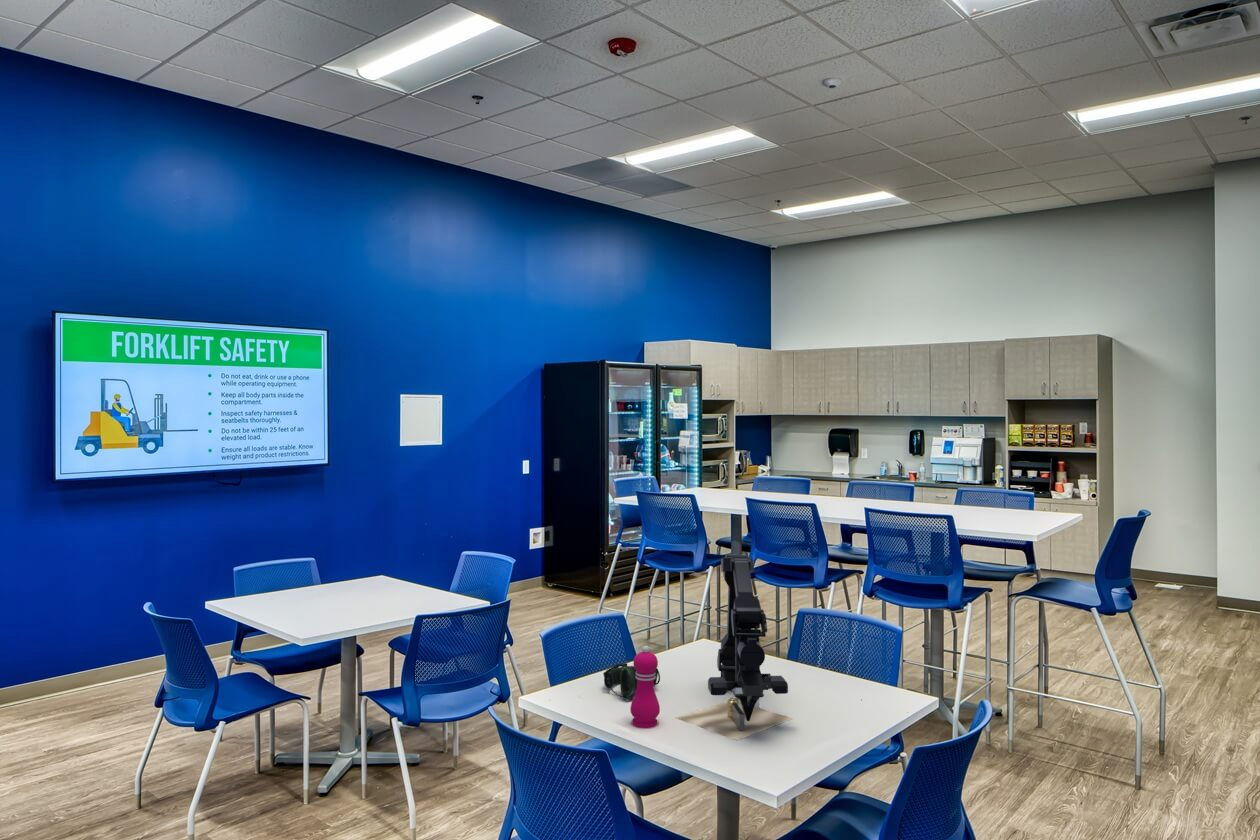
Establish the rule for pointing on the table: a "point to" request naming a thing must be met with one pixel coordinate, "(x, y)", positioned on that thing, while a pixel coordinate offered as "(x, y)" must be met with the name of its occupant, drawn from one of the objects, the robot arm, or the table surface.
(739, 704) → the fixed leaf
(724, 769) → the table surface
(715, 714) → the board
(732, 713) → the swing leaf
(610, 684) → the headphones
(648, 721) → the pepper mill
